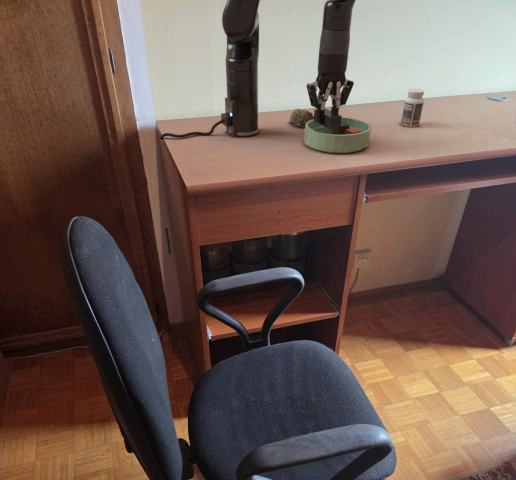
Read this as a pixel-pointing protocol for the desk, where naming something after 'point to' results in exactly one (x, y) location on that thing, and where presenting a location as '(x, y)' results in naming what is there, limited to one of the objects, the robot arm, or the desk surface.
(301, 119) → the rock
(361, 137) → the bowl
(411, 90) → the pill bottle
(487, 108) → the desk surface
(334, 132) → the walnut block
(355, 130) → the terracotta block
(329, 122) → the black rectangular block
